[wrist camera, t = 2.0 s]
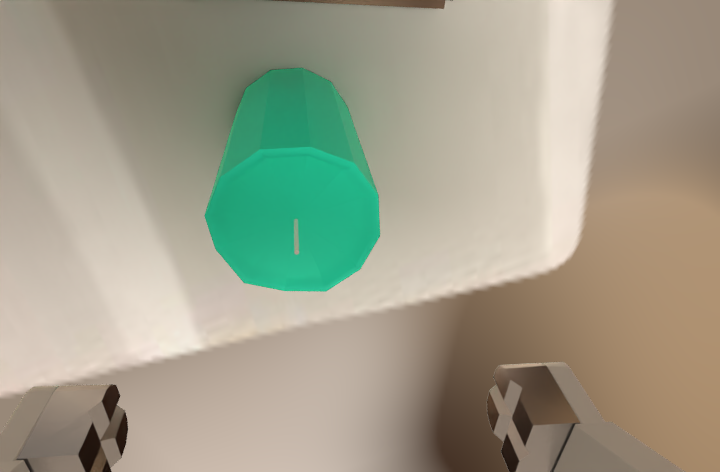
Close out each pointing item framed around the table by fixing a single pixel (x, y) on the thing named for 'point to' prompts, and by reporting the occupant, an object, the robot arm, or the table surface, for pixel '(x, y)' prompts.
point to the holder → (384, 2)
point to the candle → (293, 187)
